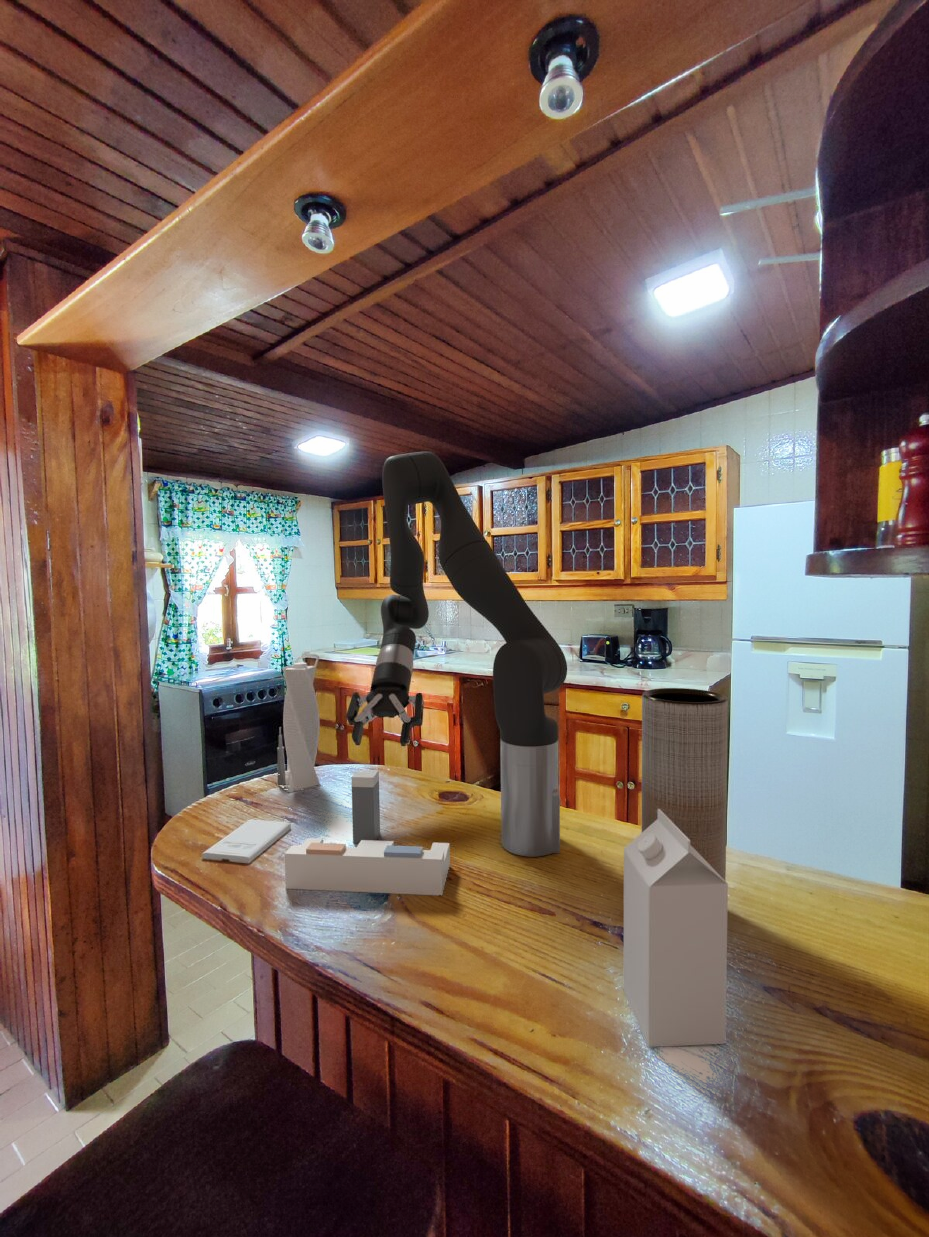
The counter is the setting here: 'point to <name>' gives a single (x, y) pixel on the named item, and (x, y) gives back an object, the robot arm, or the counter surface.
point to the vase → (687, 766)
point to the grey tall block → (365, 805)
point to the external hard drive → (247, 841)
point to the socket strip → (367, 867)
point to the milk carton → (674, 939)
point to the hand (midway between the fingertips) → (379, 743)
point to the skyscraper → (299, 727)
